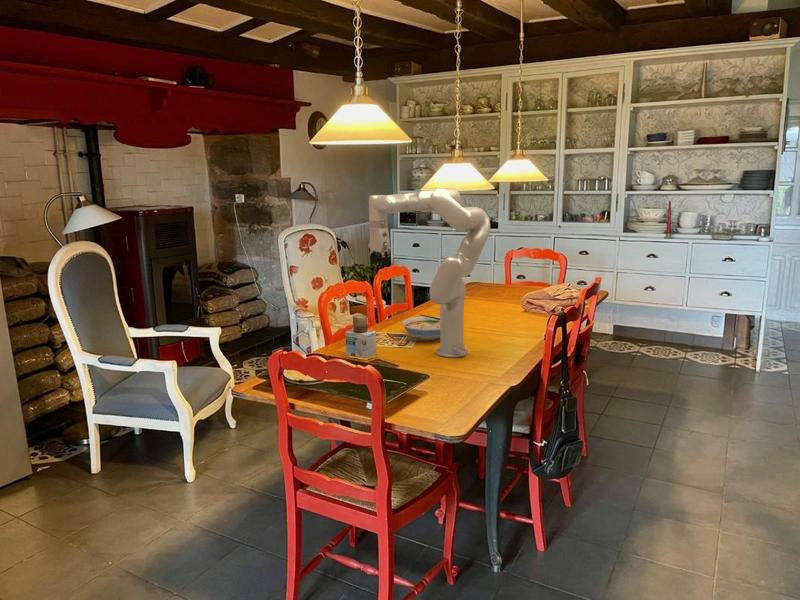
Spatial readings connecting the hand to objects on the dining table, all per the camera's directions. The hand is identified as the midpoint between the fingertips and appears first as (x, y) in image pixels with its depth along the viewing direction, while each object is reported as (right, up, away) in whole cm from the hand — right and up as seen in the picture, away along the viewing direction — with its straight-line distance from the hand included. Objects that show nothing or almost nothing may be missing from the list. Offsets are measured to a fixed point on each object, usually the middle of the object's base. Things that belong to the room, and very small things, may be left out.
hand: (379, 265), depth 251 cm
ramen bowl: (+21, -32, +12) cm, 40 cm away
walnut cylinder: (-7, -27, -16) cm, 32 cm away
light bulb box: (-7, -38, -13) cm, 41 cm away
